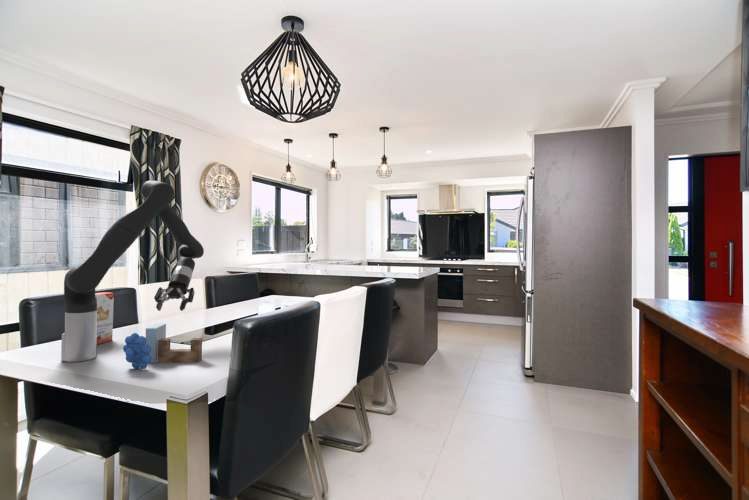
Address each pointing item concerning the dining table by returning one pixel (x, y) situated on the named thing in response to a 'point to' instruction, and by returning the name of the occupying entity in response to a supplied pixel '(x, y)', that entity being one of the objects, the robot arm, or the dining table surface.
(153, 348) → the light blue block
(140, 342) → the grapes
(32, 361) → the dining table surface
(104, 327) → the cracker box
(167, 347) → the brown u-shaped block
